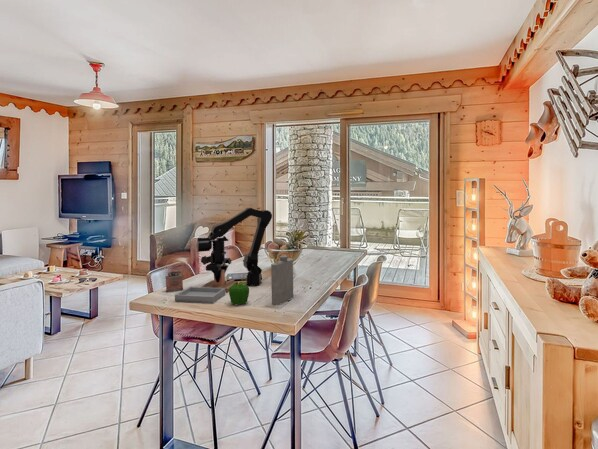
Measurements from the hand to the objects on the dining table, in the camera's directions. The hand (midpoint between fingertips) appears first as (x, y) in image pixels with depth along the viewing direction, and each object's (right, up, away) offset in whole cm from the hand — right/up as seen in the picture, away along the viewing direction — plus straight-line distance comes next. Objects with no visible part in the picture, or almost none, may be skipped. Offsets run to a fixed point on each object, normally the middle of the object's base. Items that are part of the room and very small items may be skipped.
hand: (219, 281), depth 181 cm
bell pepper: (+14, -6, -24) cm, 29 cm away
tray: (-5, -5, -16) cm, 17 cm away
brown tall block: (0, -4, 0) cm, 4 cm away
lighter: (-21, -4, -4) cm, 22 cm away
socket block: (0, -4, 0) cm, 4 cm away
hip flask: (+33, -6, -20) cm, 39 cm away
